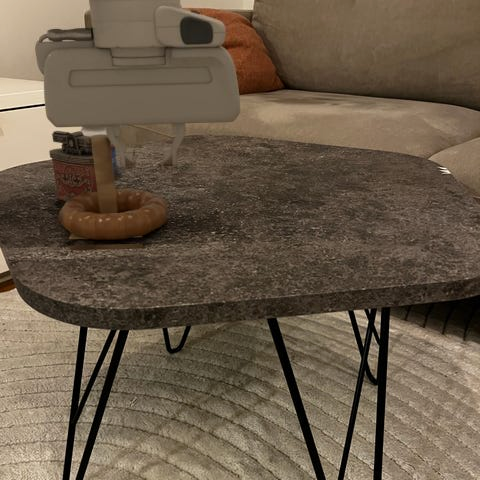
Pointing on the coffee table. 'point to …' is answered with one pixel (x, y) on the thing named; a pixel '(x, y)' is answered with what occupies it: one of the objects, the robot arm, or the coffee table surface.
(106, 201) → the paper towel holder
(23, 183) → the coffee table surface
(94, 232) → the ring
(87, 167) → the lighter
